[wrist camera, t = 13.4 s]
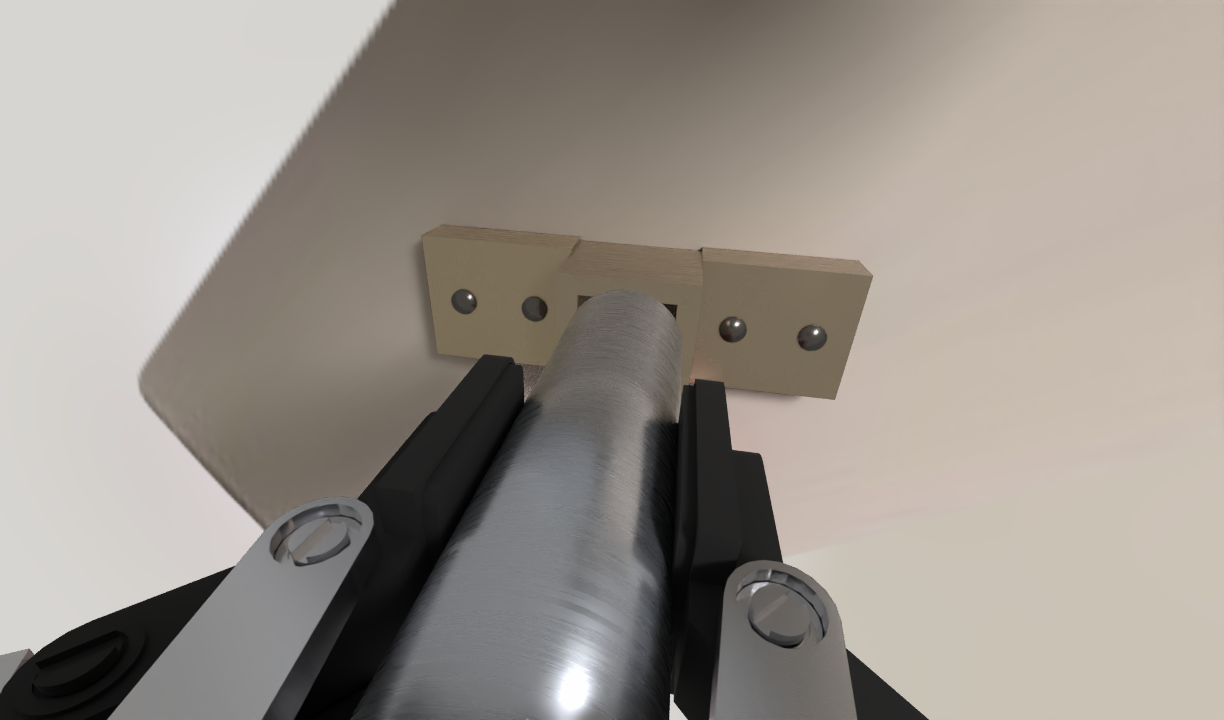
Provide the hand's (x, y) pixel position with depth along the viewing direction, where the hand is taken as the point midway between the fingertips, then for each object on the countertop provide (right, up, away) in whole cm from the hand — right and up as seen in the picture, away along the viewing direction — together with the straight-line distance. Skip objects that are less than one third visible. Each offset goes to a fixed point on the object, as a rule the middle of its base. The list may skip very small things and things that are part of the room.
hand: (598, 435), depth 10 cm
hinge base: (+6, +4, +18) cm, 20 cm away
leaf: (-5, +6, +20) cm, 21 cm away
